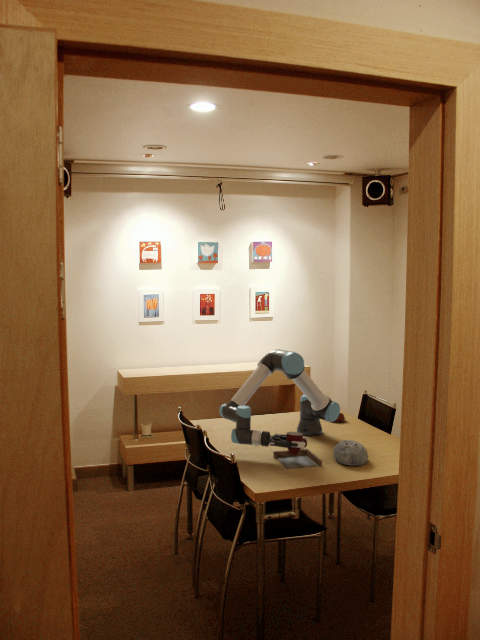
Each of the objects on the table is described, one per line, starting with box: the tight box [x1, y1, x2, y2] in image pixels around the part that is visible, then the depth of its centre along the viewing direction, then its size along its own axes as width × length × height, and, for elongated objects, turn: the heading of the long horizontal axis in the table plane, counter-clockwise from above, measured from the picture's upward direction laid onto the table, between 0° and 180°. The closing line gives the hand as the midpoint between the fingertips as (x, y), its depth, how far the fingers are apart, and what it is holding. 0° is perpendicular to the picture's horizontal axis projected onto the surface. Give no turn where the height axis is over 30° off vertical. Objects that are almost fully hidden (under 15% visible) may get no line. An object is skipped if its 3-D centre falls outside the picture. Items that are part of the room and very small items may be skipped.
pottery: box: [333, 412, 346, 423], centre depth 360 cm, size 12×20×4 cm, turn 177°
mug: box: [286, 431, 308, 454], centre depth 277 cm, size 10×8×10 cm
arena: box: [272, 448, 323, 470], centre depth 278 cm, size 19×19×3 cm
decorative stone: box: [332, 439, 369, 467], centre depth 279 cm, size 18×21×10 cm
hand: (305, 442), depth 275 cm, fingers closed on mug, 8 cm apart
